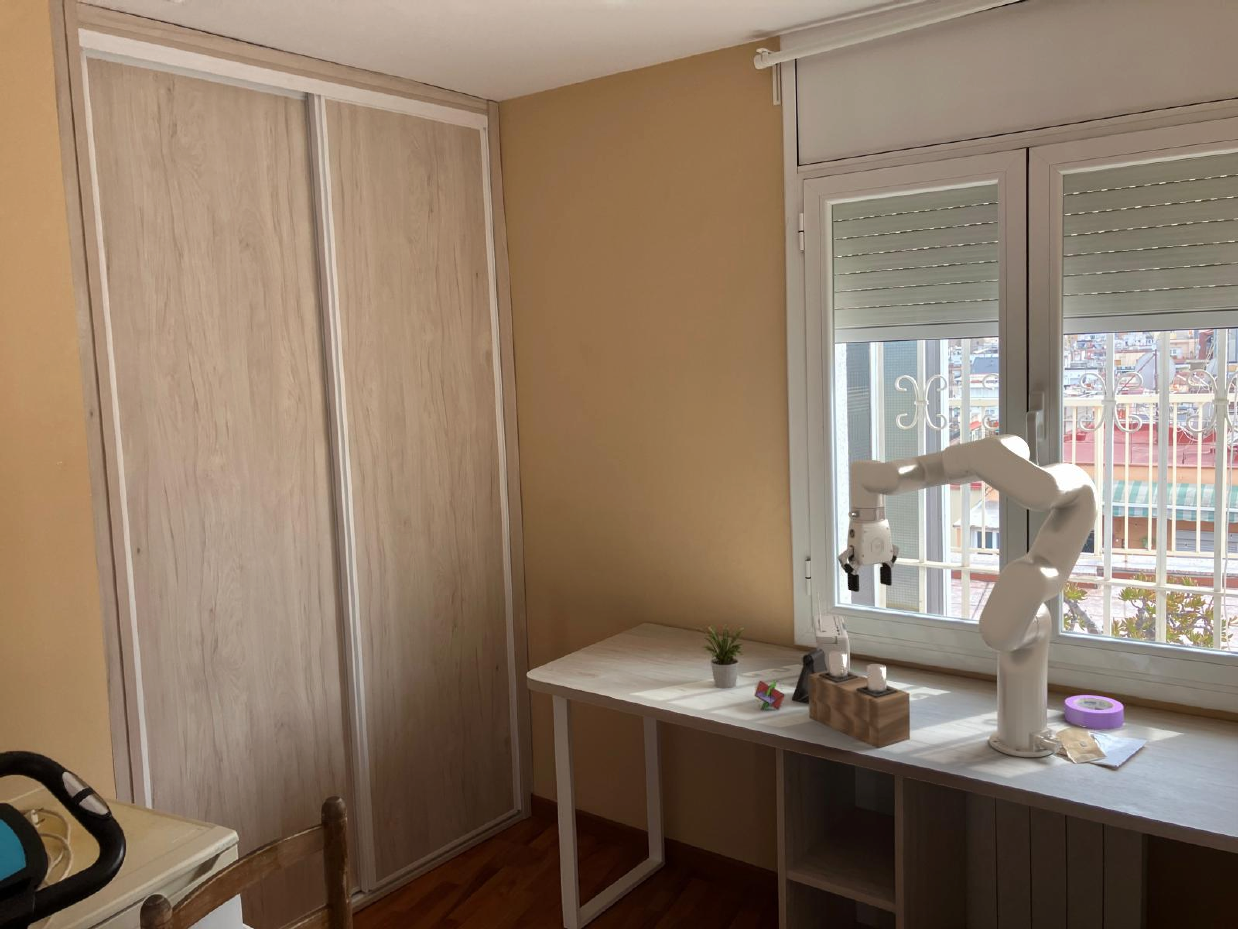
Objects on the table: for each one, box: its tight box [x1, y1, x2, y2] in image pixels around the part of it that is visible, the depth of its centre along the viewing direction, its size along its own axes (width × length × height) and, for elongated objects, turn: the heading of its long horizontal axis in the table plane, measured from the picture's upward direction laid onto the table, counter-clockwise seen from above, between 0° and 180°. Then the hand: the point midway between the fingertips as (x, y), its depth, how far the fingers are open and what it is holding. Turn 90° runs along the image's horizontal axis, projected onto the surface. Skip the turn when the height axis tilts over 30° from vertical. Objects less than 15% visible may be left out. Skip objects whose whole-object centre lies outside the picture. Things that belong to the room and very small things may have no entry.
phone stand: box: [791, 647, 828, 705], centre depth 236 cm, size 9×6×12 cm, turn 52°
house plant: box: [694, 621, 747, 689], centre depth 249 cm, size 14×14×16 cm
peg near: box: [866, 663, 887, 695], centre depth 212 cm, size 4×4×9 cm
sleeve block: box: [808, 670, 911, 749], centre depth 218 cm, size 22×9×10 cm, turn 30°
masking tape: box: [1064, 694, 1124, 730], centre depth 218 cm, size 12×12×4 cm
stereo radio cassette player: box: [812, 590, 851, 672], centre depth 254 cm, size 21×8×20 cm, turn 171°
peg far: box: [829, 651, 848, 680], centre depth 223 cm, size 4×4×9 cm
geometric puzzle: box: [754, 680, 786, 711], centre depth 232 cm, size 7×7×8 cm
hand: (869, 587), depth 228 cm, fingers open, 9 cm apart
